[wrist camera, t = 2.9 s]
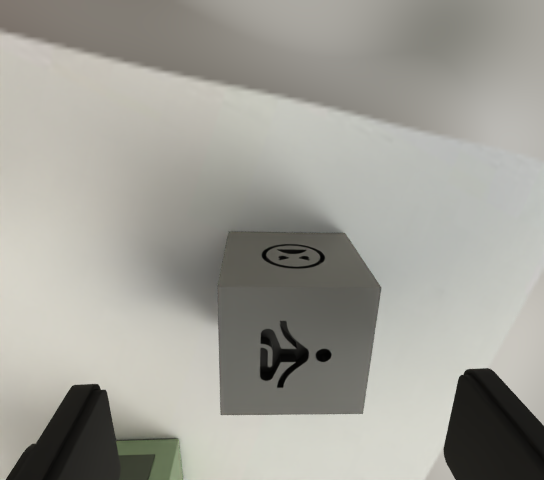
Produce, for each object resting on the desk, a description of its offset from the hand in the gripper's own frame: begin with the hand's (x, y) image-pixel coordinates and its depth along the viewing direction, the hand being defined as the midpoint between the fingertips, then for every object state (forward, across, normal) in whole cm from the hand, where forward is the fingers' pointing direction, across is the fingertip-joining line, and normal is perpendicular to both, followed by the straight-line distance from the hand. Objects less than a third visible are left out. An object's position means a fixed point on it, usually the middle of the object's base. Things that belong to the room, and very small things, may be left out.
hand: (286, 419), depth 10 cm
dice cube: (+8, -1, 0) cm, 8 cm away
